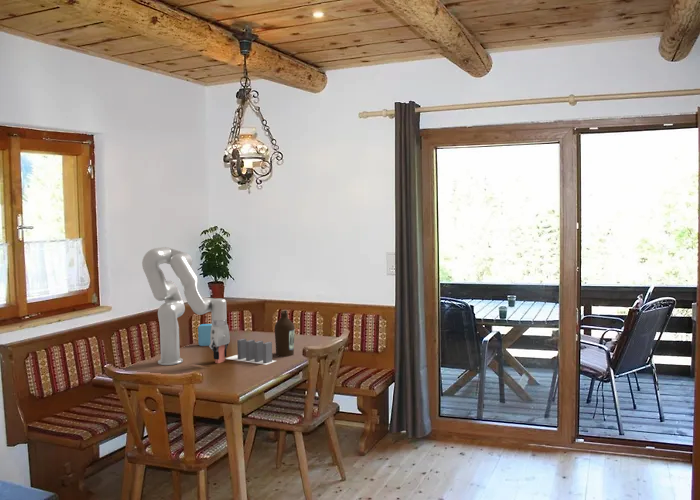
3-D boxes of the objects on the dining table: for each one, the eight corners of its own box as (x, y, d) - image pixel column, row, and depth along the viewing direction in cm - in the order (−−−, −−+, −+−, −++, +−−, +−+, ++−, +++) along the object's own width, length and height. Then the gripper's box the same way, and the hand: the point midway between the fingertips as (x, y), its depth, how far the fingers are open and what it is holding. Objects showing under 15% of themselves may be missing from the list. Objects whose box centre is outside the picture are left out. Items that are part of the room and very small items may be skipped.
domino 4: (263, 362, 330) (262, 343, 329) (269, 360, 334) (268, 341, 334) (266, 363, 329) (265, 344, 328) (272, 361, 333) (271, 342, 333)
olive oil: (272, 358, 344) (271, 311, 342) (279, 353, 355) (278, 308, 353) (291, 359, 342) (290, 312, 340) (297, 354, 352) (296, 309, 350)
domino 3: (254, 361, 333) (254, 342, 332) (260, 359, 337) (260, 340, 336) (257, 362, 332) (257, 342, 331) (263, 360, 336) (263, 340, 335)
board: (224, 360, 340) (224, 358, 340) (235, 357, 348) (235, 354, 348) (266, 367, 327) (266, 364, 327) (276, 363, 335) (276, 360, 334)
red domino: (215, 365, 332) (215, 345, 331) (222, 362, 336) (221, 343, 335) (218, 365, 331) (218, 346, 330) (225, 363, 335) (224, 344, 334)
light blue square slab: (220, 343, 380) (219, 323, 379) (219, 345, 376) (219, 325, 375) (199, 344, 379) (198, 324, 378) (198, 346, 375) (197, 325, 374)
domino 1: (237, 359, 338) (237, 340, 337) (243, 357, 343) (243, 338, 342) (240, 359, 337) (240, 340, 336) (246, 357, 342) (246, 338, 341)
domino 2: (246, 360, 336) (245, 341, 335) (252, 358, 340) (251, 339, 339) (249, 360, 335) (248, 341, 334) (255, 358, 339) (254, 339, 338)
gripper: (213, 326, 322) (214, 362, 324) (235, 320, 337) (236, 355, 338) (202, 325, 326) (203, 360, 327) (224, 319, 341) (225, 353, 342)
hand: (220, 357), depth 333 cm, fingers closed on red domino, 4 cm apart
